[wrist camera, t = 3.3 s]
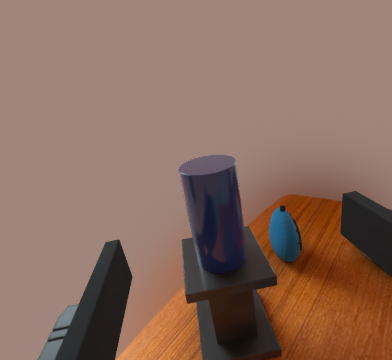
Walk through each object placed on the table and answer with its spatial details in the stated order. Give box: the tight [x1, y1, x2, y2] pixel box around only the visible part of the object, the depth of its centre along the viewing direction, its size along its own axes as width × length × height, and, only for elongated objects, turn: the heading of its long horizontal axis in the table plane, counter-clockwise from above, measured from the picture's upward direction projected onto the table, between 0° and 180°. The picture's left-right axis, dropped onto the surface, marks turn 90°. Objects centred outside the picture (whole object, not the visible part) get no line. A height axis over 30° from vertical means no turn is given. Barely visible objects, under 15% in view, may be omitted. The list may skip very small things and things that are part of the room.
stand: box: [182, 226, 281, 360], centre depth 29 cm, size 9×9×12 cm
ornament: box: [269, 205, 302, 262], centre depth 40 cm, size 8×5×10 cm, turn 1°
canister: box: [179, 155, 247, 273], centre depth 25 cm, size 6×6×11 cm
